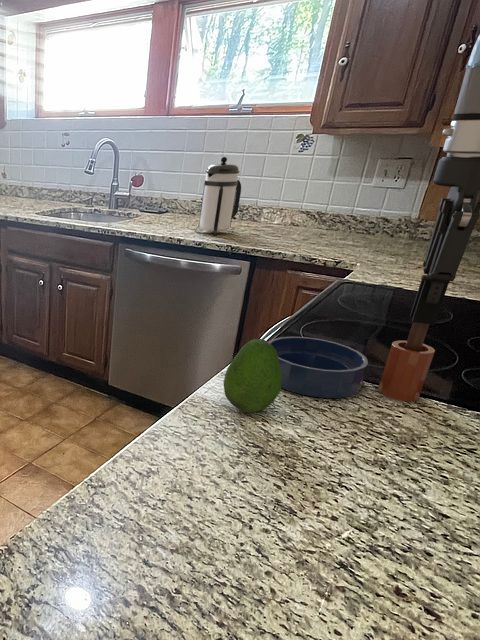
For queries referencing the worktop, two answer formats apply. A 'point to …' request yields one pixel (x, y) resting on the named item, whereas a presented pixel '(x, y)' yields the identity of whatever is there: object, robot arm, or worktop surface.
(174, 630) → the worktop surface
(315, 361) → the bowl
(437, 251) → the robot arm
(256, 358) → the avocado
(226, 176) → the coffee press
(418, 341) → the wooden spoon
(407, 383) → the crock
